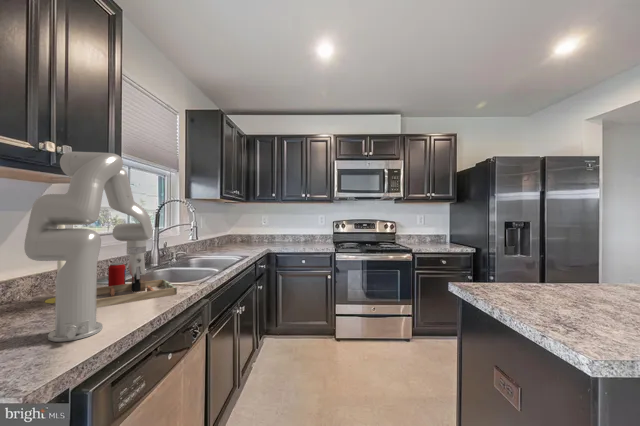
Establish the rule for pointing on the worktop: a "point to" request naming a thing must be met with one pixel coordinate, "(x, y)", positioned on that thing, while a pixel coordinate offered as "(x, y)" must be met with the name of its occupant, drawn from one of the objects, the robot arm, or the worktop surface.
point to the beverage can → (116, 274)
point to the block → (142, 286)
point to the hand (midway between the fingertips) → (136, 290)
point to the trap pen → (136, 296)
